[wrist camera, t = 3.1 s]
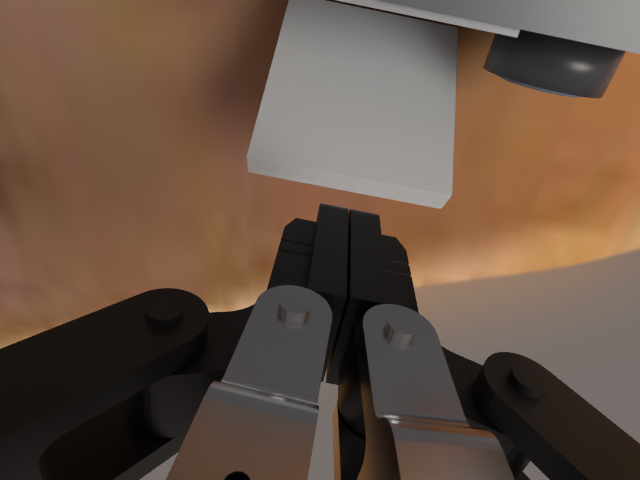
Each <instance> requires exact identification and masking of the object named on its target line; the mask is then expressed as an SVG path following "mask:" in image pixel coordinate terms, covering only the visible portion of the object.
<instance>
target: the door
mask: <svg viewBox="0 0 640 480" xmlns="http://www.w3.org/2000/svg"><path fill="white" fill-rule="evenodd" d="M457 44H458V28H457V27H452V26H447V25H443V24H438V23H433V22H428V21H423V20H418V19H414V18H409V17H404V16H399V15H394V14H389V13H384V12H380V11H375V10H370V9H365V8H360V7H355V6H351V5H346V4H341V3H336V2H331V1H326V0H289V1H288V5H287V9H286V12H285V16H284V20H283V23H282V27H281V31H280V34H279V38H278V42H277V46H276V49H275V53H274V57H273V60H272V64H271V68H270V72H269V75H268V79H267V83H266V86H265V90H264V94H263V97H262V101H261V105H260V109H259V112H258V116H257V120H256V123H255V127H254V131H253V135H252V138H251V142H250V146H249V149H248V153H247V165H248V172H250V173H255V174H261V175H266V176H271V177H276V178H282V179H287V180H292V181H297V182H303V183H308V184H313V185H318V186H324V187H329V188H334V189H339V190H345V191H350V192H355V193H360V194H365V195H371V196H376V197H381V198H386V199H392V200H397V201H402V202H407V203H413V204H418V205H423V206H428V207H434V208H439V209H441V208H442V207H443V206H444V205H445V203H446V202H447V201H448V200H449V199H450V197H451V196H452V179H453V152H454V125H455V98H456V71H457Z"/></svg>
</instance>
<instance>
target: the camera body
mask: <svg viewBox="0 0 640 480" xmlns="http://www.w3.org/2000/svg"><path fill="white" fill-rule="evenodd" d="M337 1H342V2H347V3H352V4H357V5H361V6H366V7H371V8H376V9H381V10H386V11H390V12H395V13H400V14H405V15H410V16H415V17H420V18H424V19H429V20H434V21H439V22H444V23H449V24H453V25H458V26H463V27H468V28H473V29H478V30H482V31H487V32H492V33H495V36H494V39H493V42H492V44H491V47H490V50H489V53H488V56H487V58H486V61H485V64H484V69H486V70H487V71H489V72H491V73H494V74H496V75H499V77H501V78H503V79H505V80H507V81H509V82H512V83H515V84H518V85H521V86H524V87H528V88H531V89H535V90H539V91H543V92H547V93H552V94H557V95H562V96H569V97H588V98H601V97H602V96H603V94H604V93H605V91H606V89H607V87H608V85H609V83H610V81H611V79H612V77H613V75H614V73H615V71H616V69H617V67H618V66H619V64H620V62H621V60H622V58H623V56H624V54H625V52H626V51H627V52H632V53H637V54H640V0H337Z"/></svg>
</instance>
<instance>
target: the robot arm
mask: <svg viewBox="0 0 640 480" xmlns="http://www.w3.org/2000/svg"><path fill="white" fill-rule="evenodd" d="M348 212H349V214H348ZM408 264H409V262H408V257H407V252H406V249H405V248H404V247H403V246H402V245H401V243H400V242H399V241H398V240H397V238H396V237H390V236H385V235H381V227H380V218H379V215H377V214H372V213H367V212H362V211H357V210H352V209H350V211H349V210H348V209H347V208H342V207H336V206H331V205H326V204H321V203H320V206H319V211H318V216H317V221H316V222H313V221H308V220H303V219H298V218H296V219H294V220H293V221H292V222H290V223H289V224H288V225H286V226H285V228H284V231H283V235H282V238H281V242H280V245H279V249H278V252H277V256H276V259H275V263H274V267H273V270H272V274H271V277H270V281H269V284H268V288H267V290H266V291H265V292H263V293H262V294H261V295H260V296H259V297H258V299H257V301H256V303H255V304H254V305H252V306H250V307H248V308H245V309H242V310H237V311H230V312H212V313H209V311H208V308H207V306H206V304H205V303H204V302H203V301H202V299H200V298H199V297H198V296H196V295H194V294H192V293H190V292H188V291H185V290H180V289H173V288H163V289H155V290H150V291H147V292H144V293H141V294H139V295H136V296H133V297H131V298H128V299H126V300H123V301H121V302H118V303H116V304H113V305H111V306H108V307H105V308H103V309H100V310H98V311H95V312H93V313H90V314H88V315H85V316H83V317H80V318H78V319H75V320H72V321H70V322H67V323H65V324H62V325H60V326H57V327H55V328H52V329H50V330H47V331H44V332H42V333H39V334H37V335H34V336H32V337H29V338H27V339H24V340H22V341H19V342H17V343H14V344H11V345H9V346H6V347H4V348H1V349H0V480H139V479H141V478H142V477H143V476H145V475H146V474H148V473H149V472H151V471H152V470H153V469H155V468H156V467H157V466H159V465H160V464H162V463H163V462H165V461H166V460H167V459H169V458H170V457H172V456H173V455H175V454H176V453H177V452H178V454H177V457H176V459H175V461H174V463H173V465H172V468H171V470H170V472H169V474H168V476H167V478H166V480H307V478H308V472H309V466H310V460H311V455H312V448H313V442H314V437H315V431H316V424H317V418H318V411H319V406H318V405H317V402H318V396H319V390H320V384H321V382H323V380H324V376H325V372H326V369H327V374H326V383H331V384H336V385H338V386H339V387H338V400H337V403H336V406H335V409H334V412H333V419H332V423H333V452H334V480H530V479H529V478H528V477H527V476H526V475H525V474H524V473H523V472H522V471H523V470H524V468H525V467H526V466H527V465H528V463H529V462H530V461H532V463H534V464H535V466H537V467H538V468H539V469H540V470H541V471H542V472H543V473H544V474H545V475H546V476H547V477H548V478H549V479H550V480H640V444H639V443H638V442H637V441H636V440H634V439H633V438H632V437H631V436H629V435H628V434H627V433H626V432H624V431H623V430H622V429H621V428H619V427H618V426H617V425H616V424H614V423H613V422H612V421H611V420H609V419H608V418H607V417H606V416H604V415H603V414H602V413H601V412H599V411H598V410H597V409H596V408H594V407H593V406H592V405H591V404H589V403H588V402H587V401H586V400H584V399H583V398H582V397H581V396H579V395H578V394H577V393H575V392H574V391H573V390H572V389H570V388H569V387H568V386H567V385H566V384H564V383H563V382H562V381H561V380H559V379H558V378H557V377H556V376H554V375H553V374H552V373H551V372H549V371H548V370H547V369H545V368H544V367H543V366H541V365H540V364H538V363H536V362H535V361H533V360H531V359H529V358H527V357H524V356H522V355H519V354H515V353H509V352H499V353H495V354H492V355H491V356H489V357H488V358H487V360H486V361H485V363H484V365H483V366H482V365H480V364H478V363H476V362H473V361H471V360H469V359H466V358H464V357H462V356H459V355H457V354H455V353H453V352H451V351H449V350H447V349H445V348H444V347H442V346H441V344H440V341H439V338H438V335H437V333H436V331H435V329H434V327H433V326H432V325H431V323H430V322H429V321H428V320H427V319H425V318H424V317H423V316H422V315H420V314H419V312H418V307H417V302H416V297H415V293H414V287H413V282H412V277H410V276H411V272H410V267H409V266H408Z"/></svg>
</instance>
